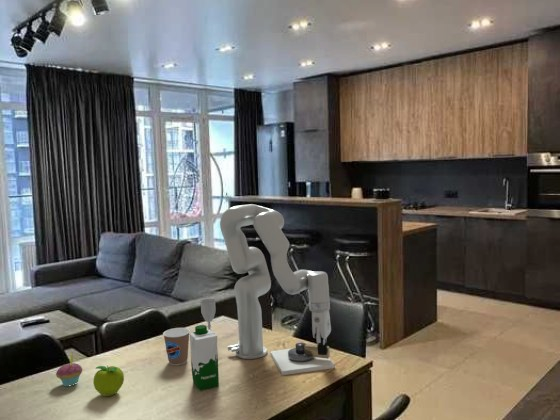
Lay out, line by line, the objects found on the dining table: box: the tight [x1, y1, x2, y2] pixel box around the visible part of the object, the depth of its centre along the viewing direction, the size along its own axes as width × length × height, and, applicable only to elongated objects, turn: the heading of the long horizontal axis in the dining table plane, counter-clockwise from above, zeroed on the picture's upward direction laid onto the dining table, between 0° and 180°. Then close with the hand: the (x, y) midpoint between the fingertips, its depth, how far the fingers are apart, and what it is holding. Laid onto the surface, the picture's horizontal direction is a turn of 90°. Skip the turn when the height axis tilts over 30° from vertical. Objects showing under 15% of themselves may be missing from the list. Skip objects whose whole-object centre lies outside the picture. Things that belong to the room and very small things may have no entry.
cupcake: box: [55, 351, 83, 387], centre depth 169 cm, size 9×8×12 cm
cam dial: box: [288, 342, 331, 362], centre depth 180 cm, size 16×10×5 cm, turn 69°
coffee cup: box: [162, 327, 191, 366], centre depth 185 cm, size 10×10×12 cm
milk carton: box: [189, 324, 220, 391], centre depth 163 cm, size 9×9×20 cm
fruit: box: [93, 365, 125, 397], centre depth 159 cm, size 9×9×10 cm
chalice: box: [199, 298, 217, 331], centre depth 206 cm, size 7×7×18 cm
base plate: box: [269, 347, 336, 376], centre depth 181 cm, size 20×20×2 cm
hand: (322, 354), depth 175 cm, fingers closed
